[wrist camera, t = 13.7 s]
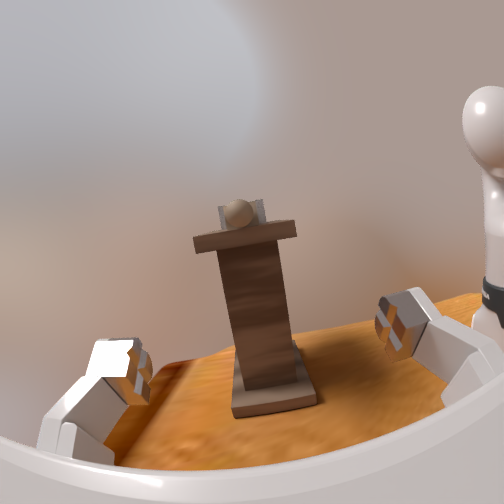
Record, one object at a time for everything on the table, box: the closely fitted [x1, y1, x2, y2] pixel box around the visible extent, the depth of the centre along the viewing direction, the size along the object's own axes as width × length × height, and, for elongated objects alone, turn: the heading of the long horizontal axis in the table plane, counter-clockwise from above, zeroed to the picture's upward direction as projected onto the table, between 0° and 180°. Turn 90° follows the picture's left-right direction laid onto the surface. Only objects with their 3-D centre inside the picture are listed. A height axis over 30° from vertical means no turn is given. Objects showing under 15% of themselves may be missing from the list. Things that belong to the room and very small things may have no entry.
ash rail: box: [223, 199, 259, 231], centre depth 38 cm, size 26×4×3 cm, turn 1°
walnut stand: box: [193, 220, 317, 418], centre depth 44 cm, size 20×12×26 cm, turn 1°
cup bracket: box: [218, 199, 267, 230], centre depth 50 cm, size 5×8×4 cm, turn 91°
